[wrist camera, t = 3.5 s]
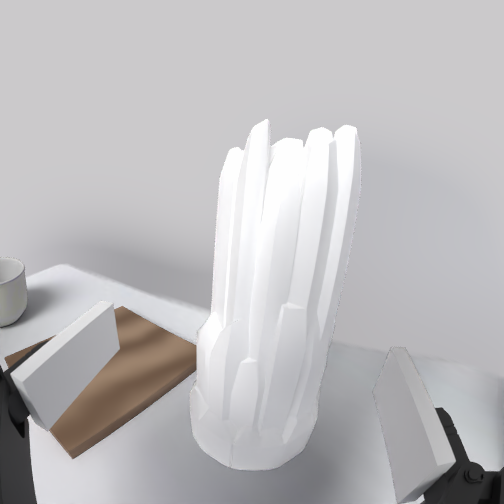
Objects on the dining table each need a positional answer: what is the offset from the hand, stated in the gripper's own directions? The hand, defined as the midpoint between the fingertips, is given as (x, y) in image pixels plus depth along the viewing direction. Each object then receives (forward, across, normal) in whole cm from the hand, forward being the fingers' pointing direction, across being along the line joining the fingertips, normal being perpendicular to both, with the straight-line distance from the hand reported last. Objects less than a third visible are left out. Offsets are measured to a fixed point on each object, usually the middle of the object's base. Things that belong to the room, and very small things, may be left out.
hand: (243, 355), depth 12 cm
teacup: (+9, -38, -14) cm, 42 cm away
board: (+9, -17, -14) cm, 24 cm away
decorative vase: (+7, +1, -14) cm, 16 cm away
